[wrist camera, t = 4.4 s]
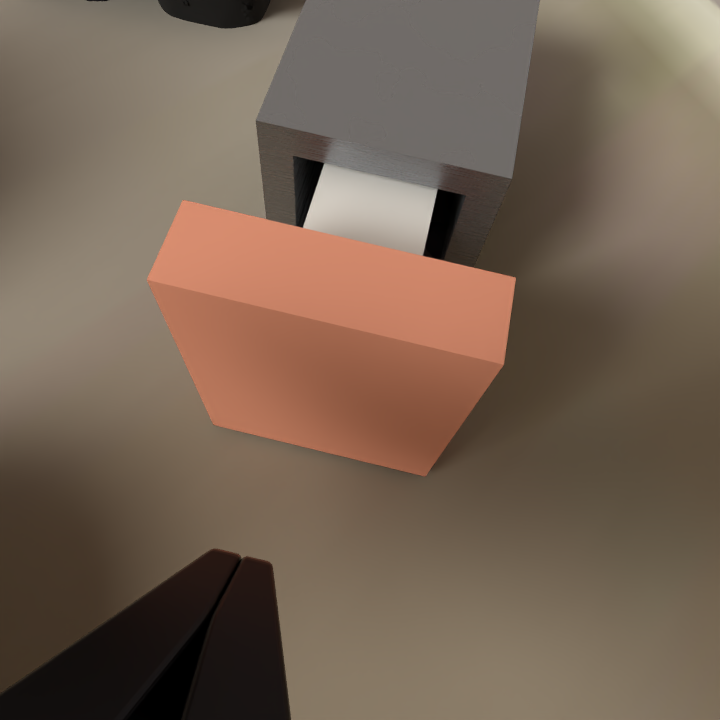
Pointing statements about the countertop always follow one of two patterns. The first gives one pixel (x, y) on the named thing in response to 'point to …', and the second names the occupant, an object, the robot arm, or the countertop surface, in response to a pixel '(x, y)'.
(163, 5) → the egg carton
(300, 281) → the pink block
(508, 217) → the countertop surface
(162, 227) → the countertop surface
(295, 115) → the housing
